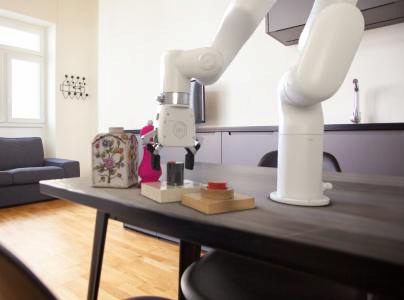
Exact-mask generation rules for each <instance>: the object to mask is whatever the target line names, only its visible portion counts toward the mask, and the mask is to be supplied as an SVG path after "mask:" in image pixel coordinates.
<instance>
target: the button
mask: <svg viewBox="0 0 404 300" xmlns="http://www.w3.org/2000/svg"><path fill="white" fill-rule="evenodd" d="M227 183H228V182H227V180H226V181H225V180H220V179H219V180H218V179H211V180H208V181H207V185H208V189H215V190H224V189H227V186H228V184H227Z"/></svg>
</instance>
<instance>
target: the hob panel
mask: <svg viewBox="0 0 404 300" xmlns="http://www.w3.org/2000/svg"><path fill="white" fill-rule="evenodd" d="M206 185H207V184H205V183H201V182H197V181H194V180H189V179H184V185H179V186H173V185H167V180H166V181H160V182H150V183H141V187H140V189H141V191H140V194H141V196H144V197H147V198H149V199H151V200H153V201H156V202H157V203H159V204H163V203H164V204H165V203H173V202H182V194H188V193H199V192H201V187H202V186H206Z"/></svg>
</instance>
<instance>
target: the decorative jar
mask: <svg viewBox="0 0 404 300" xmlns="http://www.w3.org/2000/svg"><path fill="white" fill-rule="evenodd" d="M90 145H91V148H90V149H91V151H90V154H91V157H90V158H91V159H90V160H91V163H90V164H91V186H92V187H94V188H116V189H128V188H130V187H132V186H133V185H135V184H137V183H139V178H140V176H139V175H138V169H139V166H140V163H139V161H140V159H139V140H138V138H137V136H136V134H135V133H132V132H125V127H124V126H109V127H108V131H107V132H104V133H103V132H100V133H96V135H95V136H94V137H93V139H92V141H91V142H90Z"/></svg>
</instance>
